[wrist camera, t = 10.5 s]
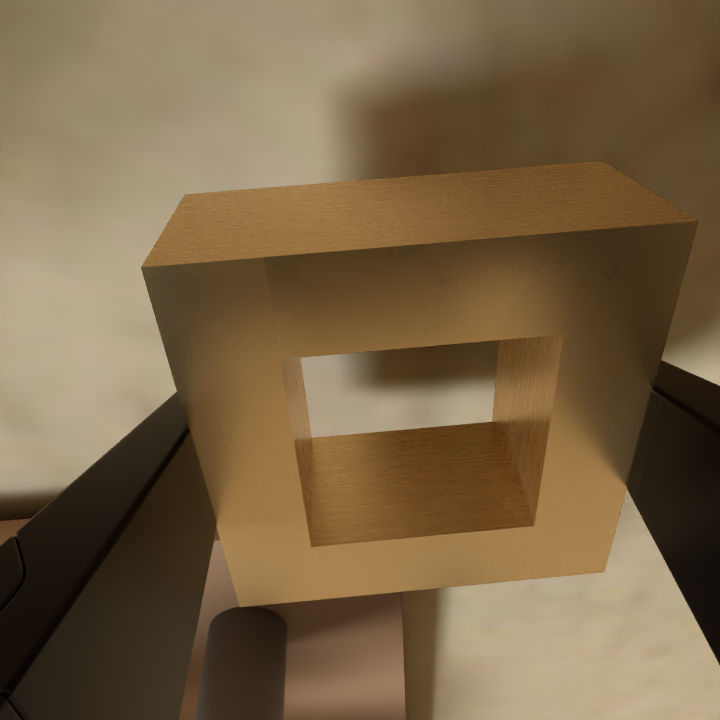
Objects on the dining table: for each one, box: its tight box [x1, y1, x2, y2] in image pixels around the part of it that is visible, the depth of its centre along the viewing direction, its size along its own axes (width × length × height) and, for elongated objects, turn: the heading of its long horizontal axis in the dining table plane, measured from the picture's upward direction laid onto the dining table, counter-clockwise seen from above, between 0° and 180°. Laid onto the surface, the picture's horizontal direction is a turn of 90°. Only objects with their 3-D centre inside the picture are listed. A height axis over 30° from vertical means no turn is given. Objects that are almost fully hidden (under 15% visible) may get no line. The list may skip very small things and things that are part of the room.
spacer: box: [141, 161, 698, 607], centre depth 9 cm, size 6×6×2 cm
